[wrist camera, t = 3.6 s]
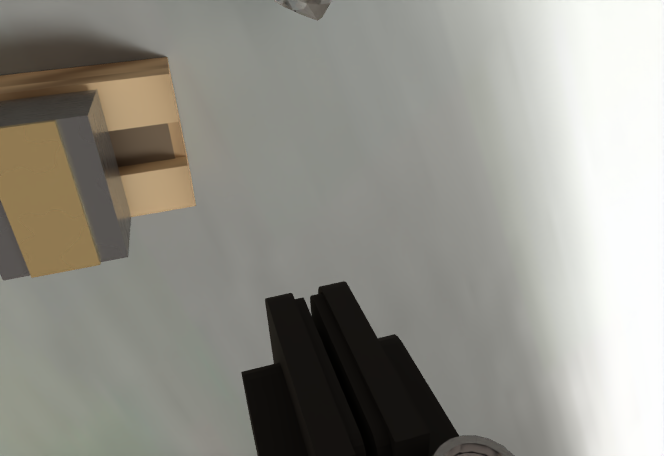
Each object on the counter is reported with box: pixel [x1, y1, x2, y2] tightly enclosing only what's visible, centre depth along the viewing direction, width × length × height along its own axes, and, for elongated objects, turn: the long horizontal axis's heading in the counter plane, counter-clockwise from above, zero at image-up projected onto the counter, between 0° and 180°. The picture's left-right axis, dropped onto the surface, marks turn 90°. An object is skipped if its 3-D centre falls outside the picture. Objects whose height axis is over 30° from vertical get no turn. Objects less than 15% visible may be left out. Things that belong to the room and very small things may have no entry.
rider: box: [0, 89, 131, 280], centre depth 21 cm, size 4×6×5 cm
